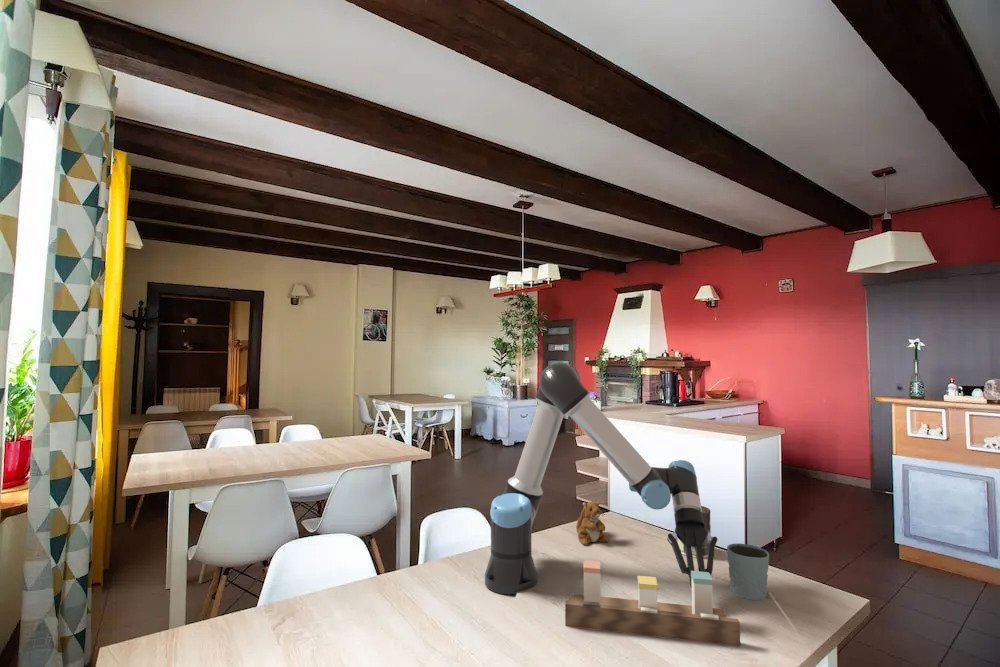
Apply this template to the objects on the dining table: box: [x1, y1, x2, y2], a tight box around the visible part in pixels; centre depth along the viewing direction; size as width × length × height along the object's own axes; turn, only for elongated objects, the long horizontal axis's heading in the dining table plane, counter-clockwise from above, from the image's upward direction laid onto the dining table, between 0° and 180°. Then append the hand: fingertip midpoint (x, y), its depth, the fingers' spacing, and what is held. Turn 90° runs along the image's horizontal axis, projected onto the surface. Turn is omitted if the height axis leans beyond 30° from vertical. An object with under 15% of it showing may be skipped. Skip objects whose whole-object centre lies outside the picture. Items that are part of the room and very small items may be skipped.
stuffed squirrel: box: [575, 501, 609, 546], centre depth 172 cm, size 10×14×13 cm
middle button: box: [637, 575, 659, 610], centre depth 114 cm, size 4×4×10 cm
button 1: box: [582, 560, 601, 604], centre depth 122 cm, size 4×4×10 cm
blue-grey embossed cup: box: [726, 543, 770, 601], centre depth 130 cm, size 10×10×12 cm
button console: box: [564, 592, 741, 647], centre depth 117 cm, size 38×16×6 cm, turn 78°
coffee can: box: [677, 505, 712, 559], centre depth 159 cm, size 10×10×14 cm
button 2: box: [691, 570, 714, 615], centre depth 116 cm, size 4×4×10 cm
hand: (701, 603), depth 119 cm, fingers closed
